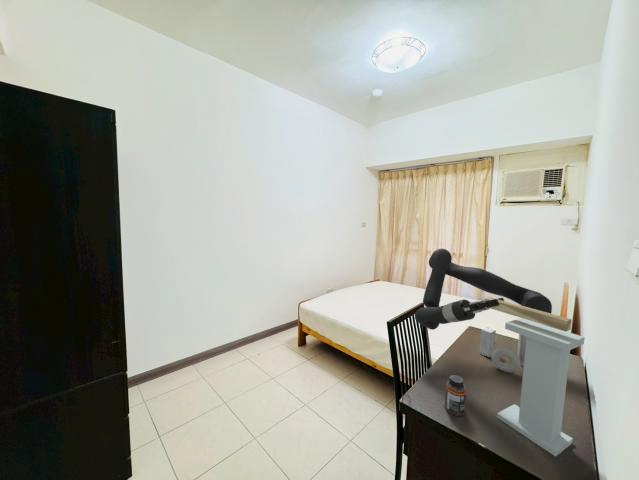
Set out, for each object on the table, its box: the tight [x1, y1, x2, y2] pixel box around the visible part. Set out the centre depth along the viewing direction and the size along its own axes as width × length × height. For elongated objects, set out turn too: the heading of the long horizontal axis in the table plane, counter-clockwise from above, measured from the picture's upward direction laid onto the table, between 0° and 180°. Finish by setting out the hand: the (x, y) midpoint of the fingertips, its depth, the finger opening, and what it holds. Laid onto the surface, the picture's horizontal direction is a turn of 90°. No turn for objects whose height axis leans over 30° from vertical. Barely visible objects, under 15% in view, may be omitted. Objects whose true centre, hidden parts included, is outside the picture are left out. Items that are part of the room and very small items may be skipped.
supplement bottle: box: [444, 374, 467, 417], centre depth 85 cm, size 6×6×11 cm
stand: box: [496, 318, 585, 457], centre depth 77 cm, size 10×15×32 cm, turn 26°
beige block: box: [483, 296, 573, 332], centre depth 80 cm, size 3×22×3 cm, turn 26°
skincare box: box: [479, 326, 497, 358], centre depth 122 cm, size 6×4×12 cm
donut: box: [490, 347, 521, 373], centre depth 108 cm, size 10×4×10 cm, turn 51°
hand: (500, 301), depth 86 cm, fingers closed on beige block, 3 cm apart
